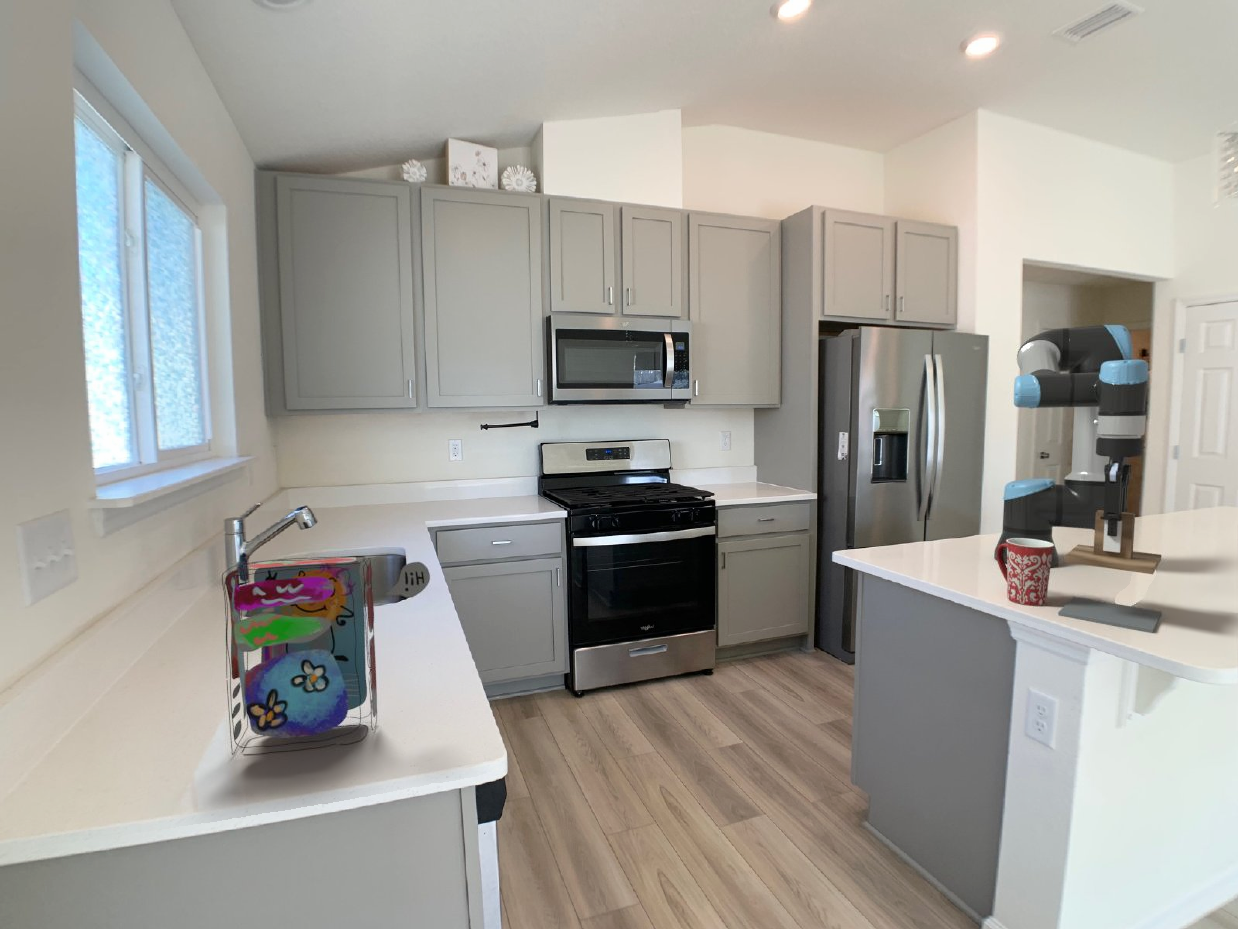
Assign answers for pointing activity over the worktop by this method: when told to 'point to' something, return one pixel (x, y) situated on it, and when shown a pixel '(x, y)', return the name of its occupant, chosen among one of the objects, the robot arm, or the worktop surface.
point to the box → (305, 643)
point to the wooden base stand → (1114, 560)
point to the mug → (1026, 569)
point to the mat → (1111, 614)
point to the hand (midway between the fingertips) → (1113, 549)
